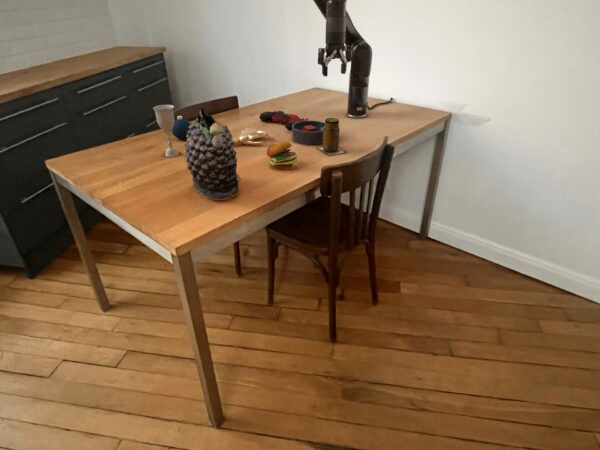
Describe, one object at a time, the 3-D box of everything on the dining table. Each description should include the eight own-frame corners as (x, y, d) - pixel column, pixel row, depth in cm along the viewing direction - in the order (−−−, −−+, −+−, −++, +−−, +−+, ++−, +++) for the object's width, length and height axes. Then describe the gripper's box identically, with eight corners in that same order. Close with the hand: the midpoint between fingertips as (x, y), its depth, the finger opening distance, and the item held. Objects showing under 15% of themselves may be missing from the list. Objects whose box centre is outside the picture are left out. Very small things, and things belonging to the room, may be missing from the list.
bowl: (303, 130, 178) (304, 118, 175) (334, 136, 172) (335, 124, 169) (285, 141, 167) (284, 128, 164) (317, 148, 160) (317, 134, 158)
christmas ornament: (188, 142, 166) (184, 118, 160) (169, 141, 167) (165, 117, 162) (196, 135, 173) (193, 112, 167) (178, 134, 174) (174, 111, 169)
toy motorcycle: (294, 135, 176) (318, 122, 184) (292, 124, 173) (317, 111, 181) (257, 124, 191) (281, 112, 200) (255, 114, 188) (280, 102, 196)
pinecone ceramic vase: (252, 195, 126) (246, 116, 113) (207, 209, 119) (195, 126, 106) (222, 172, 141) (214, 100, 128) (180, 183, 133) (167, 107, 120)
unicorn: (246, 141, 154) (214, 136, 163) (247, 151, 156) (216, 145, 165) (278, 127, 168) (248, 122, 177) (279, 136, 170) (249, 131, 179)
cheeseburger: (289, 173, 140) (282, 145, 135) (265, 174, 146) (258, 147, 141) (304, 163, 147) (298, 136, 143) (280, 164, 153) (274, 138, 149)
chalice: (164, 159, 151) (154, 111, 141) (160, 153, 156) (151, 106, 147) (183, 155, 154) (175, 108, 144) (179, 149, 159) (171, 103, 149)
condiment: (334, 145, 163) (335, 116, 157) (345, 152, 156) (347, 122, 150) (318, 148, 160) (318, 118, 154) (328, 155, 154) (329, 124, 147)
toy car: (300, 135, 171) (300, 125, 169) (309, 133, 173) (310, 123, 171) (310, 141, 165) (310, 131, 163) (319, 139, 167) (319, 129, 165)
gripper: (325, 32, 147) (324, 78, 155) (356, 29, 153) (354, 74, 161) (314, 30, 152) (314, 75, 161) (345, 27, 158) (343, 71, 167)
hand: (334, 74), depth 161 cm, fingers open, 8 cm apart
